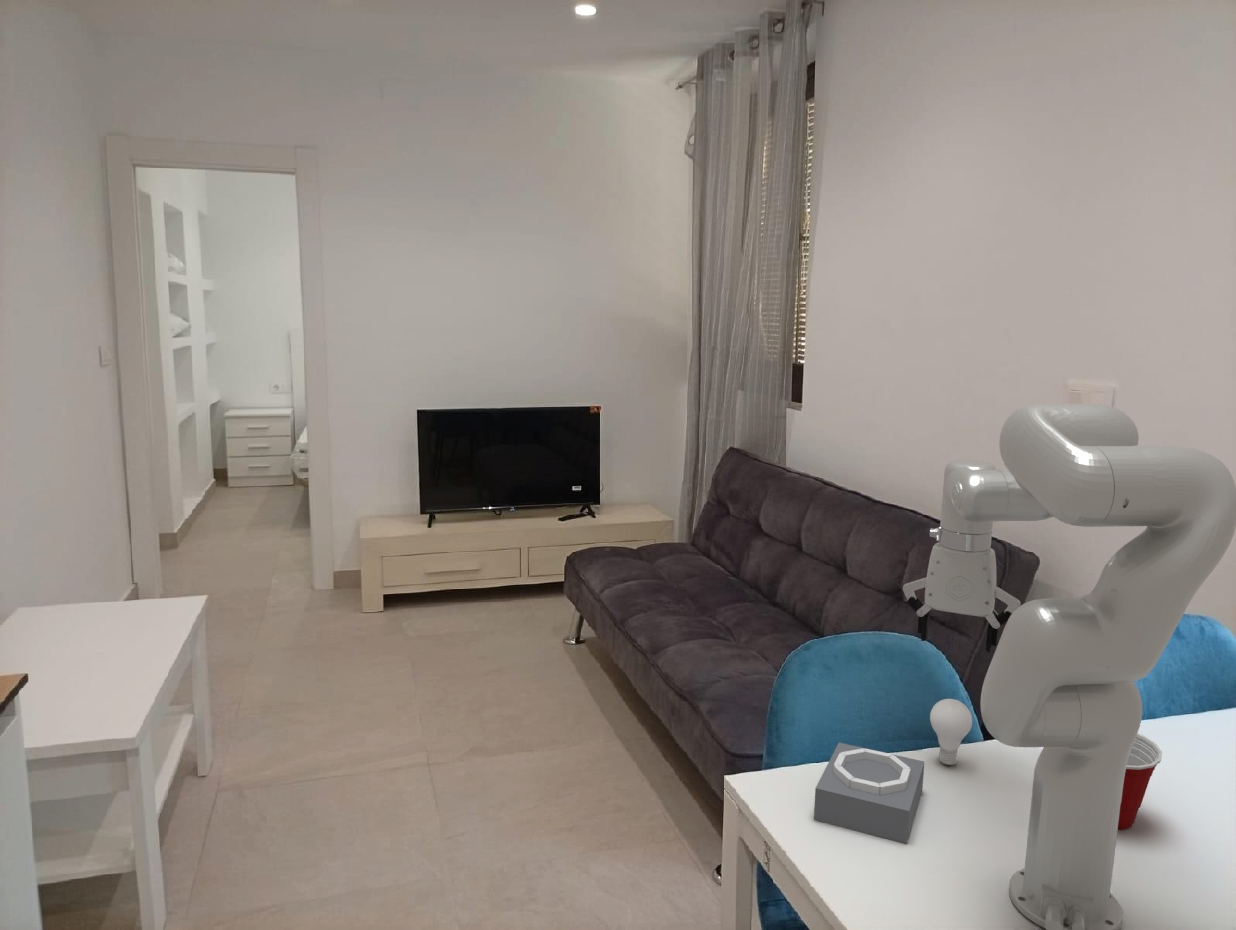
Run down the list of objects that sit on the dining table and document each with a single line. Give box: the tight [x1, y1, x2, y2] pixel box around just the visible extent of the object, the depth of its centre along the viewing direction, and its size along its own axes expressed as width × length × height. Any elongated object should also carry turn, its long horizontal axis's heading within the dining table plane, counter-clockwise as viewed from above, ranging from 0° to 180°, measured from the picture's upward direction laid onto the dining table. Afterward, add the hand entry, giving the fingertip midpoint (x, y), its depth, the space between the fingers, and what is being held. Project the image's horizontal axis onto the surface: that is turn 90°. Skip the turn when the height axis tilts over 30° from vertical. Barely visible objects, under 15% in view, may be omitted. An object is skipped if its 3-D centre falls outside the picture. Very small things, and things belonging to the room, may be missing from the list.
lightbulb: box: [929, 698, 973, 766], centre depth 144 cm, size 6×6×11 cm
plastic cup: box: [1117, 732, 1163, 831], centre depth 128 cm, size 11×11×12 cm
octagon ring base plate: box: [813, 742, 925, 845], centre depth 133 cm, size 18×13×6 cm
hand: (956, 643), depth 141 cm, fingers open, 9 cm apart
